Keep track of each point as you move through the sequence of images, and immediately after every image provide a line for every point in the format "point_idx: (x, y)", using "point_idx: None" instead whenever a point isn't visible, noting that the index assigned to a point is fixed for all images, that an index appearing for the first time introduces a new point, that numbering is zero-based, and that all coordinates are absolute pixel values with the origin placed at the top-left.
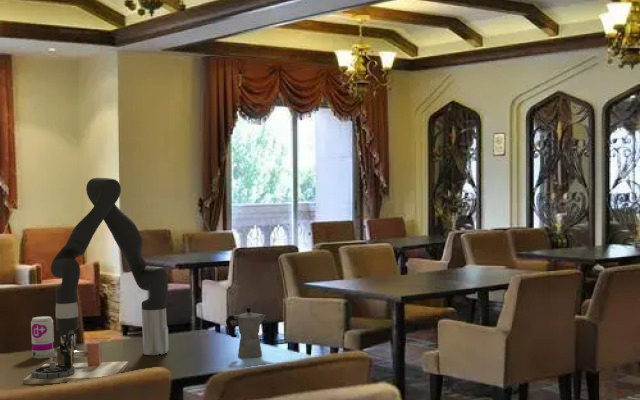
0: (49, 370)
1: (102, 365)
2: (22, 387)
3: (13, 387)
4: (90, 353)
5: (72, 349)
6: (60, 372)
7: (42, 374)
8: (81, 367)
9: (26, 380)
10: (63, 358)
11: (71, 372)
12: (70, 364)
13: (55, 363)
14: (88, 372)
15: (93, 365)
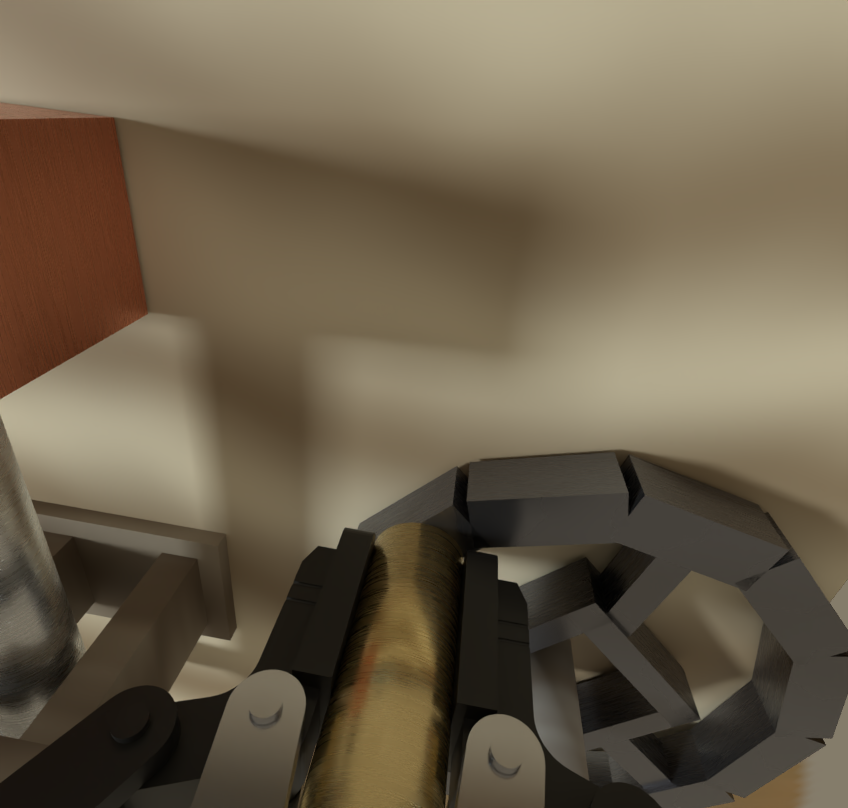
0: None
1: (84, 47)
2: (798, 766)
3: (753, 801)
4: None
5: (286, 786)
6: (819, 636)
7: (782, 763)
8: (233, 390)
9: None
10: (152, 655)
11: (711, 500)
12: (496, 573)
13: (561, 750)
14: (629, 251)
15: (129, 225)
